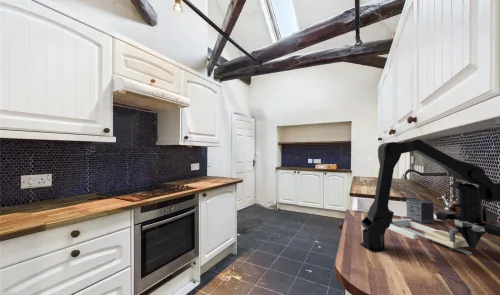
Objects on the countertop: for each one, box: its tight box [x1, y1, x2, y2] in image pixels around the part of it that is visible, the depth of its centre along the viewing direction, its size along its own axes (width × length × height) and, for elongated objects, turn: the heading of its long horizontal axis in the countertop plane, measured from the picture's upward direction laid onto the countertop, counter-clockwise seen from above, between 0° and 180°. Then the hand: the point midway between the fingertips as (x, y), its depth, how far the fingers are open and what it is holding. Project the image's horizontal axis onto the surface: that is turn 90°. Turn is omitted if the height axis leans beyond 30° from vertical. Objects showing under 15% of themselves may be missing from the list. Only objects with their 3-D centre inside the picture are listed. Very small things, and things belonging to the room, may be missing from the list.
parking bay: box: [387, 218, 473, 255], centre depth 85 cm, size 14×29×3 cm, turn 9°
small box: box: [405, 197, 435, 225], centre depth 106 cm, size 11×6×10 cm, turn 179°
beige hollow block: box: [423, 228, 469, 251], centre depth 78 cm, size 8×10×7 cm
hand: (472, 248), depth 70 cm, fingers closed
